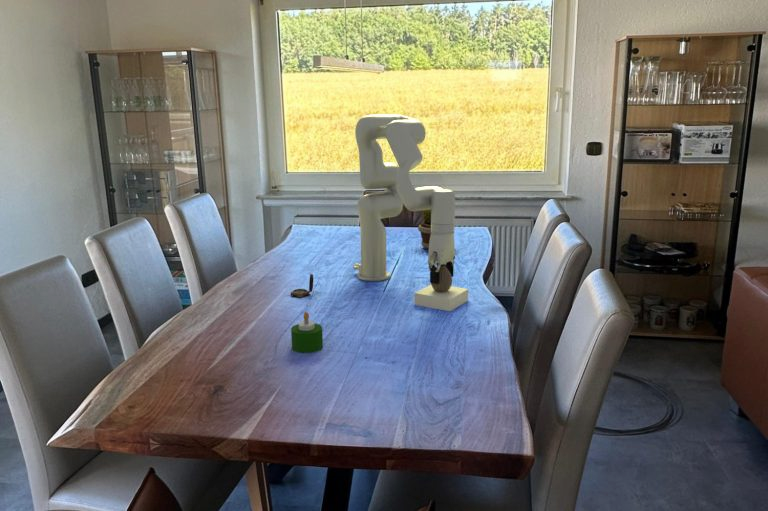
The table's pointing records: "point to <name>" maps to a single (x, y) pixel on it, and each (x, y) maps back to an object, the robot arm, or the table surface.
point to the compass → (303, 291)
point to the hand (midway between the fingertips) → (441, 279)
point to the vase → (443, 280)
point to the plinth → (441, 298)
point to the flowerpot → (425, 229)
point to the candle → (306, 336)
